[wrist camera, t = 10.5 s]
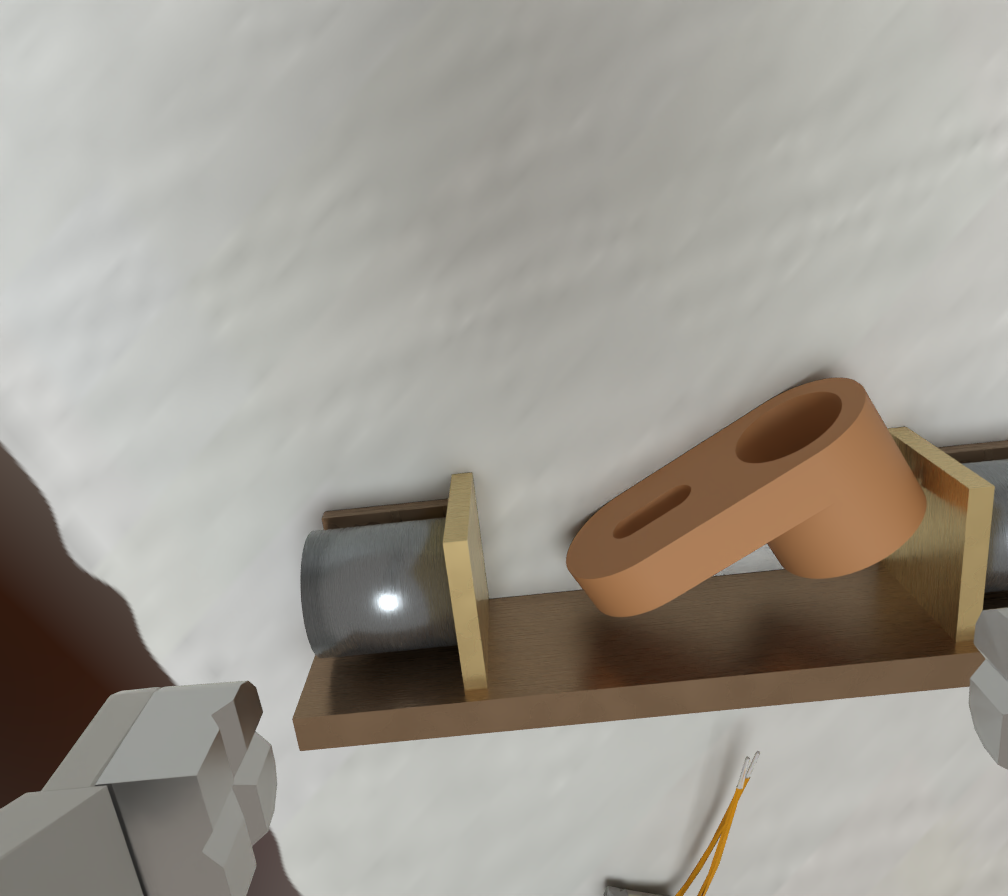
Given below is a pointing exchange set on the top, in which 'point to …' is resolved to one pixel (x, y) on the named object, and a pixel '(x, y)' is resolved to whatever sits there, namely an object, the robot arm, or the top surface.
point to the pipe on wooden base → (634, 622)
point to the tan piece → (757, 502)
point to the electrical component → (624, 895)
